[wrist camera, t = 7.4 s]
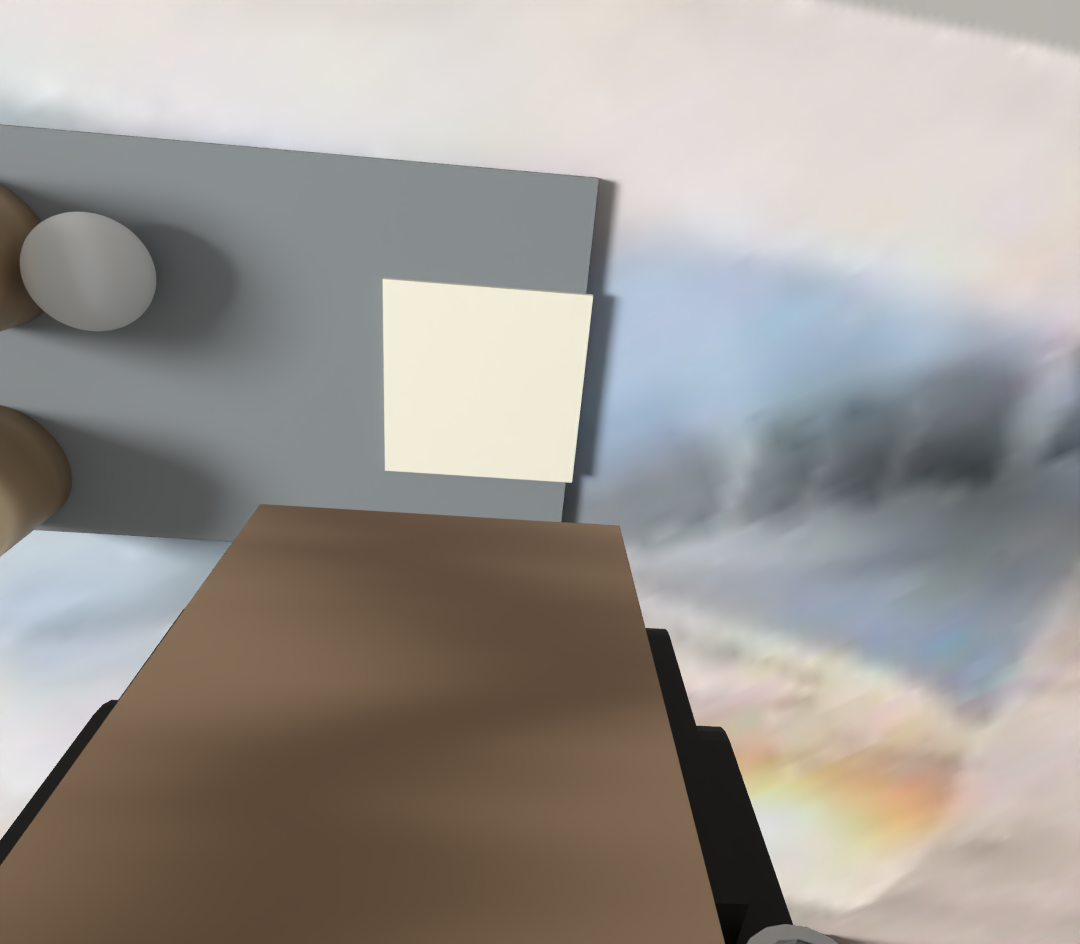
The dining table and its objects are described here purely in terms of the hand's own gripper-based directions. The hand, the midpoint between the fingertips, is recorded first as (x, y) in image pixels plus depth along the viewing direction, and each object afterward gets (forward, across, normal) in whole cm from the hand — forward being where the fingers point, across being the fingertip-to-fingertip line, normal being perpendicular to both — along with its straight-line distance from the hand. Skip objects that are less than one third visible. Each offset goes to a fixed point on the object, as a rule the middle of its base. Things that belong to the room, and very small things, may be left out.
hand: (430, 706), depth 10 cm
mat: (+15, +8, 0) cm, 17 cm away
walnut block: (+1, 0, 0) cm, 1 cm away
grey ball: (+14, +11, -3) cm, 18 cm away
